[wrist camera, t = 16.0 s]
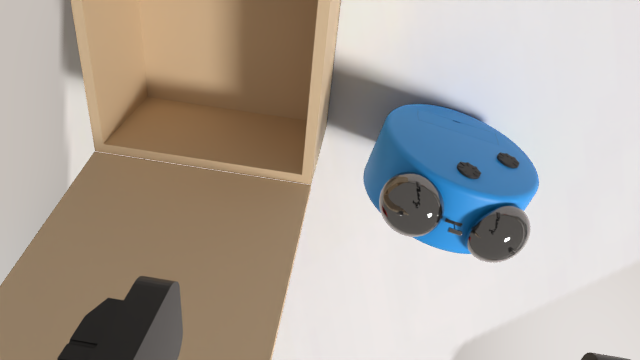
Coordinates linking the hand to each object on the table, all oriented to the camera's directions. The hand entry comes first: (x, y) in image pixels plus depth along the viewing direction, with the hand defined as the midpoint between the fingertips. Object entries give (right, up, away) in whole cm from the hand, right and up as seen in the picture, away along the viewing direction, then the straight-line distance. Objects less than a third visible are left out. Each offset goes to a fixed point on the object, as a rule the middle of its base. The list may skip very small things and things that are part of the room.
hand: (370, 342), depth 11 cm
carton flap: (-12, -4, +24) cm, 27 cm away
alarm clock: (+11, +8, +40) cm, 42 cm away
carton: (-8, +17, +36) cm, 41 cm away
